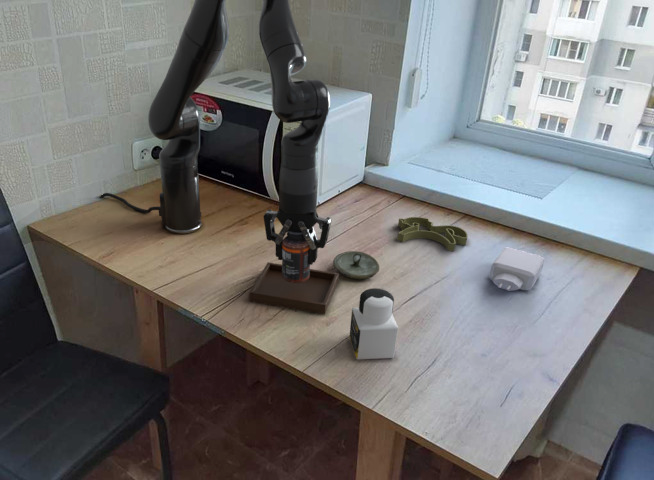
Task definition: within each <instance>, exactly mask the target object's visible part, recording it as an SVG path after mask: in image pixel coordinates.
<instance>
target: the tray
mask: <svg viewBox="0 0 654 480" xmlns="http://www.w3.org/2000/svg"><path fill="white" fill-rule="evenodd" d="M339 275H340V272H333V271H332V272H331V271H326V270H325V271H324V270H320V269H312V268H310V275H309V278H308V279H307V280H306V281H304V282H301V283H291V282H288V281H286V280H284V278H283V277H282V263H281V264H280V263H276V262H275V263H274V262H267V263H266V265H265V266H264V268H263V269H262V271H261V273H260V274H259V275H258V277H257V279H256V280H255V282H254V283H253V285H252V287H251V289H250V290H249V292H248V301H249V302H252V303H256V304H264V305H269V306H274V307H280V308H286V309H291V310H297V311H304V312H307V313H314V314H319V315H326V312H327V310H328V308H329V306H330V303H331V300H332V298H333V297H334V294H335V291H336V289H337V286H338V283H339Z"/></svg>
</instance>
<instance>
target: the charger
mask: <svg viewBox="0 0 654 480" xmlns="http://www.w3.org/2000/svg"><path fill="white" fill-rule="evenodd" d="M544 264H545V258H544V257H543V256H541V255H539V254H536V253H531V252H528V251H524V250H520V249H516V248H513V247H504V248H503V249H502V250H501V251H500V253H499V254H498V255H497V257H496V258H495V259H494V260H493V262H492V263H491V265H490V269H489V275H488V278H489V279H490V281H492V282H493V284H494V285H495V286H496V287H497V288H498V289H502V290H506V291H508V292H509V291H510V292H512V291H517V290H522V291H531V290H532V289H533V287H534V285H535V284H536V282H537V281H538V278H539V277H540V275H541V273H542V272H543V267H544Z"/></svg>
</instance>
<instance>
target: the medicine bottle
mask: <svg viewBox="0 0 654 480" xmlns="http://www.w3.org/2000/svg"><path fill="white" fill-rule="evenodd" d="M394 302H395V297H394V296H393V294H392V293H391V292H390V291H388V290H385V289H383V288H377V287H373V288H367V289H366V290H363V291H362V292H361V293H360V295H359V302H358V303H359V306H356V307H355V306H354V307H352V309H351V316H350V327H349V336H348V337H349V341H350V343H351V344H350V345H351V347H352V350H353V353H354V356H355V359H356V360H358V361H359V360H377V359H378V360H379V359H393V358H395V353H396V347H397V339H398V331H399V326H398V323H397V322H396V319H395V317H394V315H393V311H394Z"/></svg>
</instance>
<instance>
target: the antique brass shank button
mask: <svg viewBox="0 0 654 480" xmlns="http://www.w3.org/2000/svg"><path fill="white" fill-rule="evenodd" d="M332 262H333V263H332V264H333V268H334V269H335V270H336V271H337V273H339V274H341V275H342V276H345V277H347V278H350V279H354V280H366V279H369V278H372V277H374V276H375V275H376V274H377V273H378V272H379V271H380V264H379V263H378V261H377V259H375V257H373V256H372V255H370V254H368V253H366V252H363V251H357V250H354V251H353V250H352V251H344V252H340V253H338V254H337V255H336V256H335V257H334V258H333V261H332Z"/></svg>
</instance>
